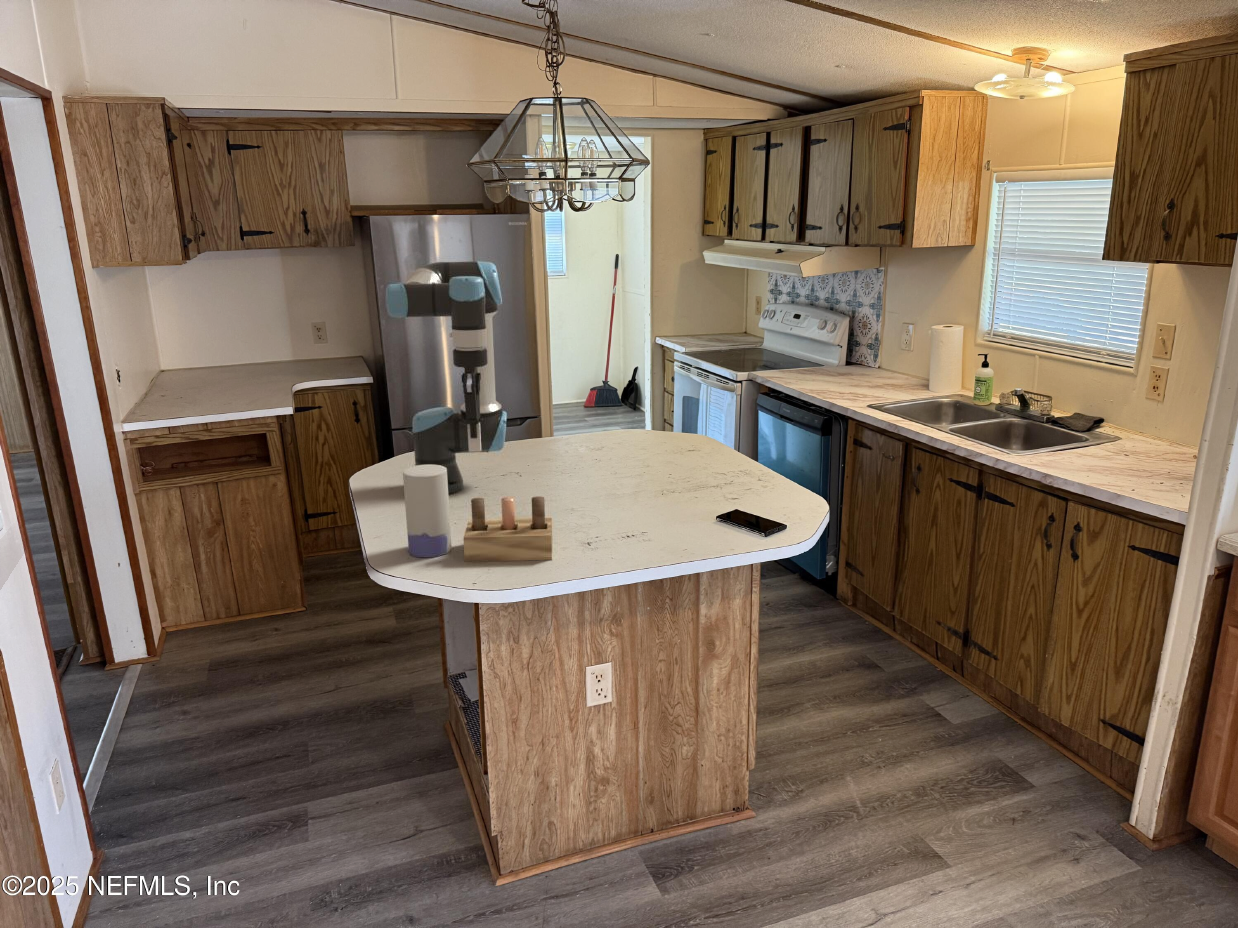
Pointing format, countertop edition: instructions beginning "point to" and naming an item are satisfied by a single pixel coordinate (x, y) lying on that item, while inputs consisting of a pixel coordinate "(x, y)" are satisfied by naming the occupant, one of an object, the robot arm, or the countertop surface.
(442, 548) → the container
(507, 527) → the terracotta peg
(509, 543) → the oak block
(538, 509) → the walnut peg
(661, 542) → the countertop surface
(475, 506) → the walnut peg
